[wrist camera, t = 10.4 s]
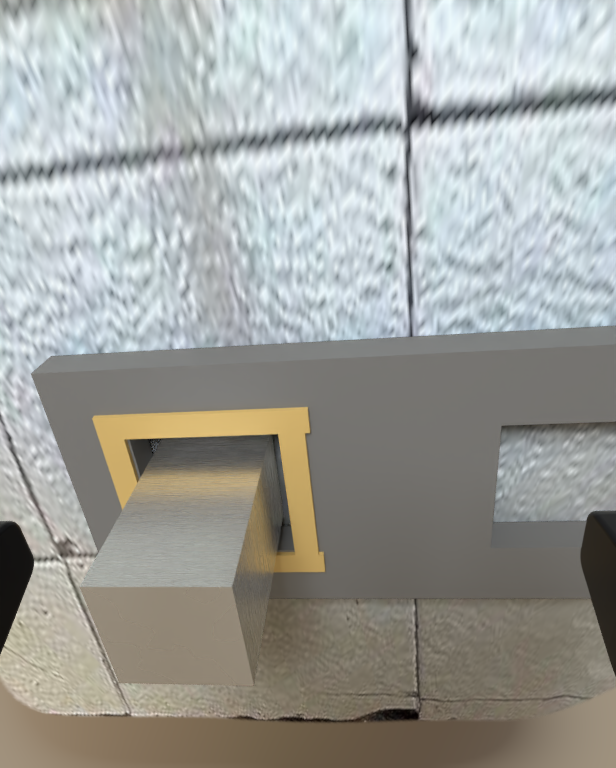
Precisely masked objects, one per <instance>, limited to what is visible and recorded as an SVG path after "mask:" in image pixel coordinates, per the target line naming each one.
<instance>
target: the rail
mask: <svg viewBox="0 0 616 768" xmlns="http://www.w3.org/2000/svg"><path fill="white" fill-rule="evenodd" d="M31 375H32V378H33V380H34V383H35V386H36V388H37V391H38V394H39V396H40V399H41V402H42V404H43V407H44V410H45V412H46V415H47V418H48V420H49V423H50V425H51V428H52V431H53V433H54V436H55V439H56V441H57V444H58V447H59V449H60V452H61V455H62V457H63V460H64V463H65V465H66V468H67V471H68V473H69V476H70V478H71V481H72V484H73V486H74V489H75V492H76V494H77V497H78V500H79V502H80V505H81V508H82V510H83V513H84V516H85V518H86V521H87V523H88V526H89V529H90V531H91V534H92V537H93V539H94V542H95V545H96V547H97V550H98V553H99V551H100V550H101V548H102V546H103V544H104V542H105V541H106V539H107V537H108V535H109V533H110V532H111V530H112V528H113V526H114V524H115V523H116V521H117V519H118V517H119V515H120V514H121V512H122V510H123V508H124V506H125V505H126V503H127V501H128V499H129V497H130V496H131V494H132V492H133V490H134V488H135V487H136V485H137V483H138V481H139V479H140V478H141V476H142V474H143V472H144V470H145V469H146V467H147V465H148V463H149V461H150V460H151V458H152V456H153V454H152V450H151V447H150V443H149V440H148V439H153V438H182V437H211V436H239V435H268V434H278V437H279V444H280V451H281V458H282V465H283V472H284V479H285V486H286V493H287V500H288V507H289V514H290V522H291V526H281V531H280V537H279V543H278V548H277V554H276V560H275V566H274V572H273V578H272V583H271V589H270V595H269V599H591V597H590V593H589V590H588V587H587V584H586V580H585V577H584V574H583V570H582V567H581V560H580V551H581V546H582V541H583V536H584V531H585V526H586V521H555V522H493V515H494V504H495V493H496V482H497V470H498V459H499V448H500V437H501V426H505V425H533V424H562V423H591V422H616V326H602V327H583V328H565V329H546V330H528V331H509V332H490V333H472V334H453V335H435V336H416V337H398V338H379V339H361V340H342V341H323V342H305V343H286V344H268V345H249V346H231V347H212V348H193V349H175V350H156V351H138V352H119V353H101V354H82V355H63V356H51V357H50V358H48V359H47V360H46V361H45V362H44V363H43V364H42V365H40V366H39V367H38V368H37V369H36V370H35V371H34V372H32V373H31Z"/></svg>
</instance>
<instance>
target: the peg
mask: <svg viewBox="0 0 616 768" xmlns="http://www.w3.org/2000/svg"><path fill="white" fill-rule="evenodd" d="M282 519H283V506H282V499H281V493H280V486H279V479H278V472H277V465H276V458H275V451H274V444H273V437H272V434H268V435H239V436H211V437H182V438H162V440H161V442H160V443H159V445H158V447H157V449H156V451H155V452H154V454H153V456H152V458H151V460H150V461H149V463H148V465H147V467H146V469H145V470H144V472H143V474H142V476H141V478H140V479H139V481H138V483H137V485H136V487H135V488H134V490H133V492H132V494H131V496H130V497H129V499H128V501H127V503H126V505H125V506H124V508H123V510H122V512H121V514H120V515H119V517H118V519H117V521H116V523H115V524H114V526H113V528H112V530H111V532H110V533H109V535H108V537H107V539H106V541H105V542H104V544H103V546H102V548H101V550H100V551H99V553H98V555H97V557H96V559H95V560H94V562H93V564H92V566H91V568H90V569H89V571H88V573H87V575H86V577H85V578H84V580H83V582H82V584H81V586H80V589H81V591H82V594H83V596H84V598H85V601H86V603H87V606H88V608H89V611H90V613H91V615H92V618H93V620H94V623H95V625H96V628H97V630H98V632H99V635H100V637H101V640H102V642H103V645H104V647H105V649H106V652H107V654H108V657H109V659H110V661H111V664H112V666H113V669H114V671H115V674H116V676H117V678H118V681H119V683H146V684H193V685H240V686H254V683H255V677H256V671H257V665H258V659H259V653H260V648H261V642H262V636H263V630H264V624H265V618H266V613H267V607H268V601H269V595H270V589H271V583H272V578H273V572H274V566H275V560H276V554H277V548H278V543H279V537H280V531H281V525H282Z"/></svg>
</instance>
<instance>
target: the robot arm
mask: <svg viewBox="0 0 616 768" xmlns="http://www.w3.org/2000/svg"><path fill="white" fill-rule="evenodd" d="M580 560H581V567H582V570H583V574H584V577H585V580H586V584H587V587H588V590H589V593H590V597H591V600H592V603H593V607H594V610H595V613H596V616H597V620H598V623H599V626H600V630H601V633H602V636H603V639H604V643H605V646H606V649H607V653H608V656H609V659H610V662H611V665H612V668H613V671H614V673H615V676H616V511H594V512H591V513H590V514H589V515H588V518H587V521H586V526H585V531H584V536H583V541H582V546H581V551H580ZM33 567H34V559H33V555H32V553H31V550H30V548H29V546H28V544H27V542H26V539H25V537H24V535H23V533H22V531H21V528H20V527H19V525H18V524H16V523H15V522H12V521H0V654H1V652H2V649H3V647H4V644H5V642H6V639H7V637H8V634H9V631H10V629H11V626H12V624H13V621H14V619H15V616H16V613H17V611H18V608H19V606H20V603H21V600H22V598H23V595H24V593H25V590H26V588H27V585H28V582H29V580H30V577H31V575H32V572H33Z"/></svg>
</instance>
